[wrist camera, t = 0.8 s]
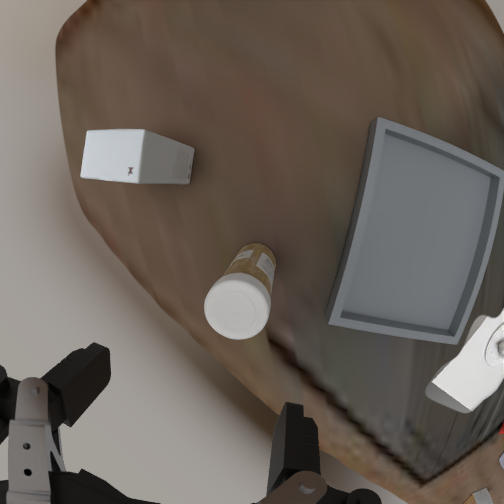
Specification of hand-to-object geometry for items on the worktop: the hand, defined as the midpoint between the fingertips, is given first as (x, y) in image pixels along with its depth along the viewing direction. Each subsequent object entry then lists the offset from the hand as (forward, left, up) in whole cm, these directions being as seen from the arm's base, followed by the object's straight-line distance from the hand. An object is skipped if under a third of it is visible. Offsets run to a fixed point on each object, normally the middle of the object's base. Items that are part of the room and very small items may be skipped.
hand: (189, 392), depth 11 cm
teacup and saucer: (+7, +42, -23) cm, 49 cm away
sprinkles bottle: (0, 0, -22) cm, 22 cm away
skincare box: (-9, -12, -22) cm, 27 cm away
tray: (-7, +18, -22) cm, 30 cm away
